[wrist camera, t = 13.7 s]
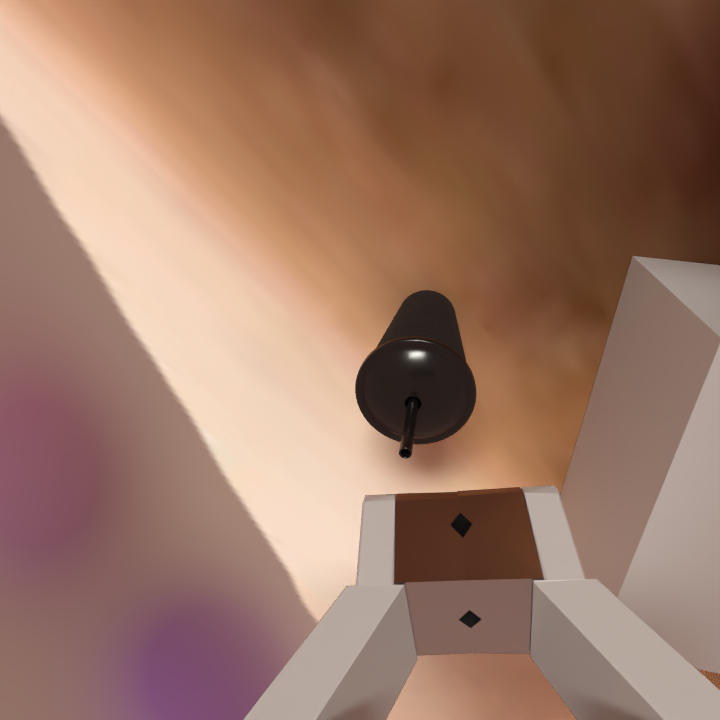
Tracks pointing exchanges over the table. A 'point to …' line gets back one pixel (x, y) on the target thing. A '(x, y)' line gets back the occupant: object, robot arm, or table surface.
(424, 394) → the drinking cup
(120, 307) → the table surface
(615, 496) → the console
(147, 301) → the table surface
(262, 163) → the table surface
